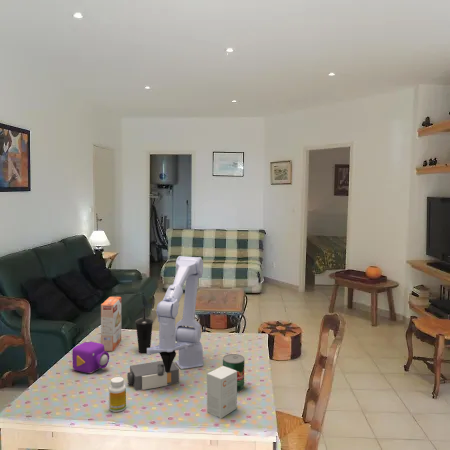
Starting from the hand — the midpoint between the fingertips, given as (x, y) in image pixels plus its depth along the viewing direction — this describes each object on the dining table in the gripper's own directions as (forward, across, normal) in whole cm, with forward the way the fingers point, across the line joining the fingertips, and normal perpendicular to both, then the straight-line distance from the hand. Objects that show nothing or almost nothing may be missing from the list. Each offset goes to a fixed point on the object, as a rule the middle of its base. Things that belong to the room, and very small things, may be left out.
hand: (167, 371), depth 157 cm
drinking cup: (+6, 0, +36) cm, 36 cm away
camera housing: (+6, -3, +7) cm, 9 cm away
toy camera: (+6, -23, +26) cm, 35 cm away
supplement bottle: (+6, -19, -8) cm, 22 cm away
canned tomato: (+6, +22, -9) cm, 25 cm away
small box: (+6, +12, -22) cm, 26 cm away
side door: (+6, -5, 0) cm, 7 cm away
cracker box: (+6, -12, +48) cm, 50 cm away
